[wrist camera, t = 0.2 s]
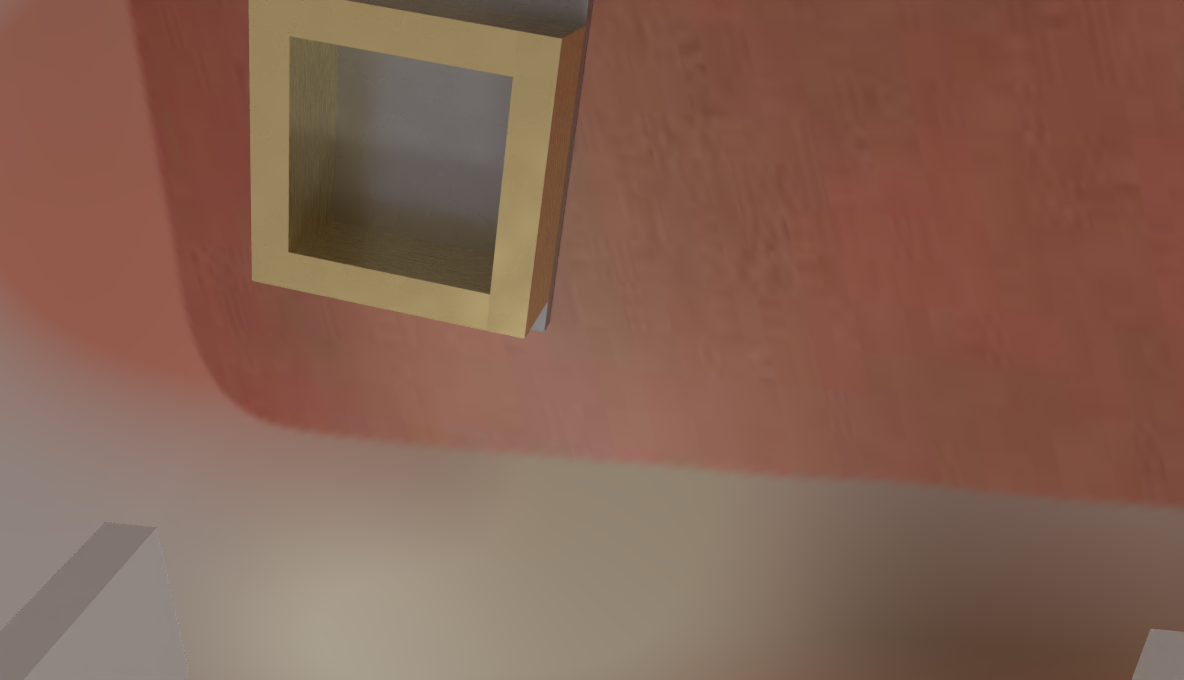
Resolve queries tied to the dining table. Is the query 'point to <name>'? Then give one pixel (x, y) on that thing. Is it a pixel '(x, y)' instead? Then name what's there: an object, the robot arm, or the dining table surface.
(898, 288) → the dining table surface
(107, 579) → the robot arm
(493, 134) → the mount
